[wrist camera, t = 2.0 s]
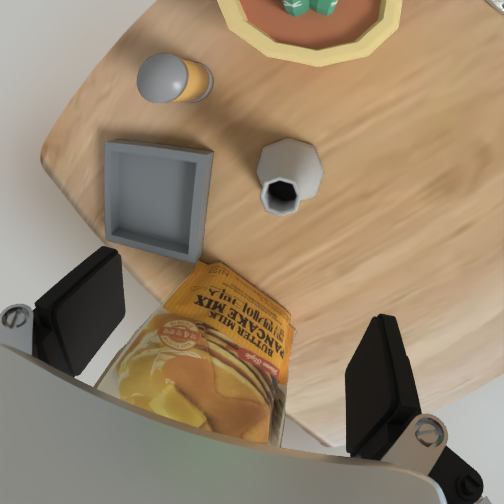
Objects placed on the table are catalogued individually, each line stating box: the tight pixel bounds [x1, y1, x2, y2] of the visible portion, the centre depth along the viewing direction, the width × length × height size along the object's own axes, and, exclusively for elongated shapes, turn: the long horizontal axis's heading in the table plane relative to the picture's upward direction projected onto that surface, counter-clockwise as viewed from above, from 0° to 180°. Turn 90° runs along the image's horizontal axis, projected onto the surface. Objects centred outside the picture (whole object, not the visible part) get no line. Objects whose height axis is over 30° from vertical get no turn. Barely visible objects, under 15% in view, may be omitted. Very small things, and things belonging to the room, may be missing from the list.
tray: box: [104, 139, 214, 264], centre depth 35 cm, size 13×13×2 cm
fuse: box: [137, 53, 214, 103], centre depth 26 cm, size 5×5×8 cm
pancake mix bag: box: [94, 260, 297, 447], centre depth 28 cm, size 7×19×28 cm, turn 53°
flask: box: [256, 138, 324, 216], centre depth 27 cm, size 7×7×10 cm
